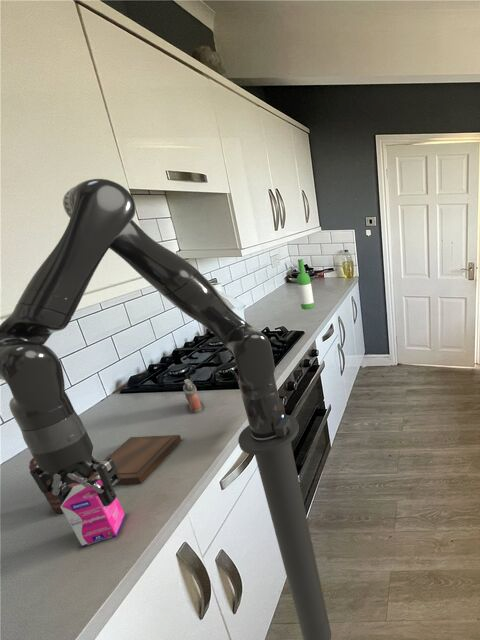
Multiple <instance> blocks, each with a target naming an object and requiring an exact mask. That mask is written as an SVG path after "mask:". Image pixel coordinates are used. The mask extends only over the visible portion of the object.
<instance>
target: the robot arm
mask: <svg viewBox="0 0 480 640" xmlns="http://www.w3.org/2000/svg"><path fill="white" fill-rule="evenodd" d="M136 206H137V205H136V202H135V199H134V197H133V196H132V193H130V191H129V190H128V189H127V188H125V187H124V186H123V185H121V184H119V183H118V182H115V181H113V180H110V179H105V178H91V179H87V180H84V181H81V182H79V183H78V184H77V185H75V186H73V187H71V188H70V189H69V190H67V191H66V192H65V194H64V196H63V199H62V207H63V210H64V212H65V214H66V215H67V216H68V217H69V221H68V224H67V226H66V228H65V230H64V232H63V234H62V236H61V238H60V239H59V240H58V242H57V244H56V245H55V246H54V248H53V249H52V251H51V252H50V253H49V254H48V256H47V257H46V258H45V260H43V261H42V263H41V265H40V266H39V268H38V269H37V270H36V271H35V273H34V274H33V276H31V279H30V280H29V282H28V283H27V284H26V287H25V288H24V290H23V292H22V294H21V295H20V297H19V298H18V301H17V303H16V305H15V306H14V309H13V310H12V312H11V314H10V315H8V317H6V319H5V320H4V321H2V323H1V324H0V380H1V381H5V383H6V384H7V386H8V387H9V390H10V393H11V395H12V397H11V399H10V401H9V403H8V406H9V410H10V412H11V415H12V416H13V419H14V420H15V422H16V424H17V426H18V427H19V429H20V432H21V435H22V438H23V439H22V440H23V441H24V443H25V445H26V446H27V448H28V450H29V452H30V454H31V456H32V458H34V459H35V461H36V463H37V466H36V467H35V468H34V469H32V470H29V473H30V475H31V477H32V478H33V480H34V481H35V483H36V485H37V486H38V488H39V490H40V491H41V493H42V494H43V495H44V494H47V493H48V492H52V494H53V495H55V496H58V498H59V500H60V502H61V503H62V504H63V502H64V501H65V499H66V498H67V496H68V494H69V493H70V491H71V489H72V487H68V486H69V485H70V484H72V483H78V484H79V483H80V484H82V485H83V486H84V487H86V488H92V489H94V490H95V491H96V492H98V496H99V498H100V500H101V502H102V504H103V506H109V505H110V504H111V503H112V502H113V501H114V500H115V499H116V497H117V494H116V491H115V490H114V487H115V486H117V485H116V484H117V483H118V482H119V481H120V480H121V478H120V476H119V474H118V471H117V469H116V466H115V464H114V461H113V459H111V458H107V457H106V458H107V459H106V458H105V459H106V460H105V459H104V460H105V461H104V460H102V461H98V460H97V459H95V458H94V456H93V450H94V444H93V442H92V440H91V438H90V435H89V434H88V431H87V429H86V428H85V425H84V423H83V421H82V418H81V417H80V415H79V414H77V411H76V410H75V408H74V407H73V404H72V402H71V400H70V398H69V395H68V394H67V392H66V390H65V378H64V377H65V376H64V372H63V371H64V370H63V367H62V363H61V360H60V359H59V356H58V355H57V353H56V352H55V351H54V350H53V349H52V348H51V347H49V346H47V344H46V343H47V341H48V340H49V338H50V337H51V336H52V335H53V334H54V333H56V332H61V331H63V330H64V329H66V328H67V327H68V325H69V324H70V322H71V320H72V319H73V317H74V314H75V312H76V311H77V309H78V307H79V305H80V303H81V301H82V299H83V297H84V295H85V293H86V290H87V288H88V286H89V285H90V283H91V280H92V278H93V276H94V275H95V272H96V271H97V269H98V267H99V265H100V263H101V262H102V260H103V258H104V257H105V255H106V254H107V252H108V250H109V249H110V250H111V251H112V252H113V253H115V254H116V255H118V256H119V257H120V259H122V260H123V261H125V263H127V264H128V265H129V266H130V267H131V268H132V269H133V270H134V271H135V272H136V273H138V275H139V276H140V277H142V278H143V279H144V280H145V281H146V282H147V283H148V284H150V286H152V287H153V288H154V289H155V290H156V291H157V292H158V293H159V294H160V295H162V296H163V297H164V298H165V299H166V300H167V301H169V302H170V303H171V304H172V305H173V306H175V307H176V308H177V309H178V310H180V311H181V312H182V313H184V314H185V315H187V316H188V317H190V318H191V319H192V320H195V321H196V322H197V323H199V324H200V325H203V326H204V327H206V329H208V330H209V331H210V332H211V333H212V334H213V335H214V336H215V337H216V338H217V339H218V340H219V342H221V344H222V345H224V346H225V348H226V350H227V351H228V352H229V354H231V356H232V357H233V358H234V361H235V365H236V369H237V374H238V376H237V383H238V387H239V390H240V395H241V399H242V402H243V406H244V410H245V414H246V418H247V422H248V425H249V426H250V429H251V435H252V438H253V439H254V440H256V441H261V442H263V441H269V440H272V439H275V438H277V437H281V436H286V435H288V434H290V433H291V428H290V426H291V424H290V420H289V418H286V415H287V414H286V410H285V404H284V399H283V398H280V395H279V391H278V387H277V381H276V377H275V372H276V371H275V370H276V367H275V360H274V354H273V349H272V345H271V342H270V339H269V338H268V337H267V336H266V335H265V334H264V333H263V332H261V331H260V330H259V329H257V328H255V327H254V326H252V325H251V324H249V323H248V322H247V321H246V320H244V319H243V318H242V317H241V316H239V315H238V314H237V313H236V312H235V311H233V310H232V308H231V307H230V306H229V305H228V303H227V302H226V301H225V300H224V298H223V297H222V295H221V294H220V293H219V291H218V290H217V288H216V287H215V285H213V284H212V282H210V280H208V278H206V277H205V276H204V274H202V273H201V272H200V271H199V270H198V269H197V268H196V267H195V266H194V265H192V264H191V263H190V262H189V261H187V260H186V259H185V258H184V257H182V256H180V255H179V254H177V253H175V252H174V251H172V250H170V249H169V248H167V247H165V246H164V245H162V244H160V243H159V242H157V241H155V239H153V238H152V237H150V236H149V235H148V234H147V233H146V232H145V231H144V230H143V229H142V228H141V227H140V226H139V225H138V224H137V223H136V222H135V221H134V220H133V219H134V217H135V216H136V210H137V208H136ZM287 431H288V432H287ZM94 473H95V474H96V477H95V478H94V479H92V480H91V481H89V480H88V479H89V478H90V477H91V476H92V475H93V474H94ZM110 478H112V479H110ZM48 480H49V481H50V482H51V483H50V484H48V485H47V483H46V482H47V481H48ZM98 480H100V481H102V483H103V484H102V485H101V486H100V485H99V484H98V483H97V481H98Z"/></svg>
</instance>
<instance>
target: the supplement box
mask: <svg viewBox="0 0 480 640" xmlns="http://www.w3.org/2000/svg"><path fill="white" fill-rule="evenodd" d="M97 483H98V484H99V485H100V486H101V485H102V484H103V483H102V481H100V480H98V481H97ZM61 509H62V511H63V513H62V514H63V515H64V516H65V518H66V520H67V522H68V524H69V525H70V527H71V529H72V531H73V533H75V534H74V535H75V536H76V538H77V540H78V542H79V543H80V545H81V547H82V548H83V547H86V546H90V545H93V544H96V543H99V542H102V541H105V540H109V539H112V538H116V537H117V536H118V534H119V532H120V529H121V527H122V525H123V522H124V520H125V518H126V513H125V512H124V510H123V507H122V506H121V503H120V501H119V499H118V497H117V496H116V499H115V500H114V501H113V502H112V503H111V504H110V505H109V506H103V504H102V502H101V500H100V498H99V496H98V492H96V491H95V490H94V489H92V488H86V487H84V486H83V485H82V484H81V485H77V486H73V487H72V489H71V491H70V493H69V494H68V496H67V498H66V499H65V501H64V502H63V504H62V505H61Z"/></svg>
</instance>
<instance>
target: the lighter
mask: <svg viewBox="0 0 480 640" xmlns="http://www.w3.org/2000/svg"><path fill="white" fill-rule="evenodd" d="M183 381H184V384H183V385H182V390H183V393H184V396H185V399H186V400H187V402H188V408H189V410H190V412H192V413H193V414H197V413H200V412H202V411H203V405H202V402H201V401H200V398H199V395H198V391H197V389H198V388H197V386H196V385H195V384H194V383H193V382H192V381H191V379H189V378H187V379H184V380H183Z"/></svg>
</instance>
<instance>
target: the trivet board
mask: <svg viewBox="0 0 480 640" xmlns="http://www.w3.org/2000/svg"><path fill="white" fill-rule="evenodd" d="M181 441H182V438H181V434H171V435H169V434H167V435H148V436H147V435H145V436H130V437H129V438H127V440H125V441H124V442H123V443H122V444H121V445H120V446H119V447H118V448H116V449H115V450H114V451H113V452H112V453H110V454H109V455H108V456H106V457H105V459H103V461H105V460H106V459H107V458H111V459H113V461H114V464H115V466H116V469H117V471H118V474H119V476H120V478H121V480H120V481H119V482H118V483H117V484H116V485H115V486H117V485H119V486H120V485H137V484H139V485H140V484H142V483H143V482H144V481H145V480H146V479H147V478H148V477H149V476H150V475H151V473H153V471H154V470H156V468H157V467H158V466H159V465H160V464H161V463H162V462H163V461H164V460H165V459H166V457H167V456H169V455H170V454H171V452H172V451H174V449H175V448H176V447H177V446H178V445H179V444H180V443H181ZM95 477H96V474H95V473H94V474H93V475H92V476H91V477H90V478H89V479H88V480H89V481H91V480H92V479H94V478H95ZM110 479H112V478H110Z"/></svg>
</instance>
